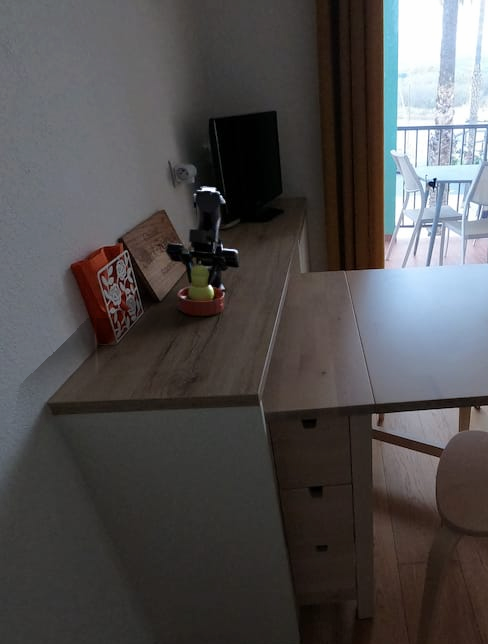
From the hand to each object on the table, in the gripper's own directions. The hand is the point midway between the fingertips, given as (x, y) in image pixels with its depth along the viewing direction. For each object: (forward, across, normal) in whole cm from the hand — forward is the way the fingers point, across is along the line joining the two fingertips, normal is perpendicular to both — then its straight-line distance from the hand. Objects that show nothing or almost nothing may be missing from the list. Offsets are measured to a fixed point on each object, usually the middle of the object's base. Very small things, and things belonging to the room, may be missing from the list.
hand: (199, 283), depth 124 cm
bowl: (+5, 0, +6) cm, 8 cm away
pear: (+4, 0, +6) cm, 7 cm away
